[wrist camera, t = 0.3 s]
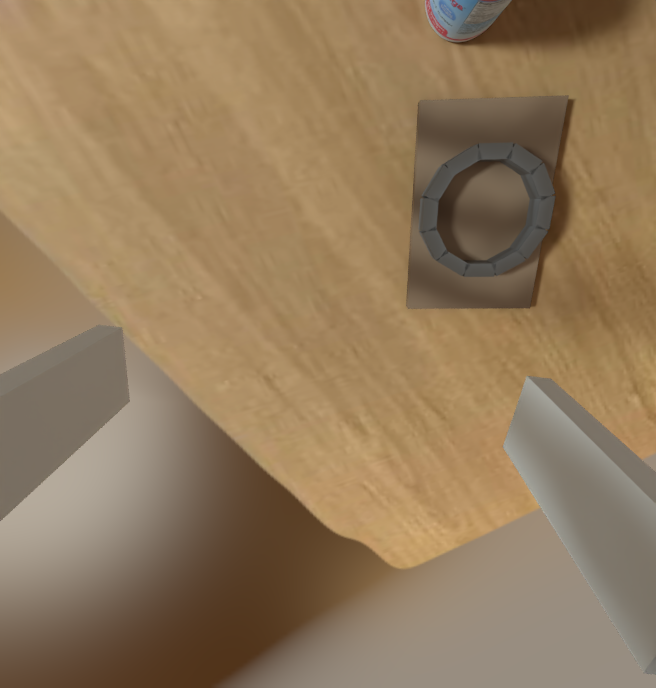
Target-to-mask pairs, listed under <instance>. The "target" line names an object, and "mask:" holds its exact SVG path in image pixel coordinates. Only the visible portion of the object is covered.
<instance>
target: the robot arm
mask: <svg viewBox="0 0 656 688" xmlns="http://www.w3.org/2000/svg"><path fill="white" fill-rule="evenodd" d="M129 401H130V400H129V389H128V379H127V370H126V360H125V350H124V340H123V330H122V327H114V326H105V325H97V326H96V327H93V328H91V329H89V330H87V331H85V332H83V333H82V334H79V335H78V336H76V337H74V338H72V339H70V340H68V341H66V342H64V343H62V344H60V345H58V346H56V347H54V348H52V349H50V350H48V351H46V352H44V353H42V354H40V355H38V356H36V357H34V358H32V359H30V360H28V361H26V362H24V363H22V364H20V365H18V366H16V367H14V368H12V369H10V370H8V371H6V372H4V373H2V374H0V521H1V520H2V519H3V518H4V517H5V516H6V515H7V514H8V513H10V512H11V511H12V510H13V509H14V508H15V507H16V506H17V505H18V504H19V503H20V502H22V501H23V500H24V498H26V497H27V496H28V495H29V494H30V493H31V492H32V491H33V490H34V489H35V488H37V487H38V486H39V485H40V484H41V483H42V482H43V481H44V480H45V479H46V478H48V476H50V475H51V474H52V473H53V472H54V471H55V470H56V469H57V468H58V467H59V466H60V465H62V464H63V463H64V462H65V461H66V460H67V459H68V458H69V457H70V456H71V455H72V454H73V453H74V452H75V451H77V450H78V449H79V448H80V447H81V446H82V445H83V444H84V443H85V442H86V441H88V439H90V438H91V437H92V436H93V435H94V434H95V433H96V432H97V431H98V430H99V429H100V428H102V427H103V426H104V425H105V423H107V422H108V421H109V420H110V419H111V418H112V417H113V416H114V415H116V414H117V413H118V412H119V411H120V410H121V409H122V408H123V407H124V406H125V405H126V404H127V403H128V402H129ZM503 448H504V449H505V451H506V453H507V454H508V456H509V457H510V459H511V461H512V462H513V464H514V465H515V467H516V469H517V470H518V472H519V473H520V475H521V477H522V478H523V480H524V481H525V483H526V485H527V486H528V488H529V490H530V491H531V493H532V494H533V496H534V498H535V499H536V501H537V502H538V504H539V506H540V507H541V509H542V510H543V512H544V514H545V515H546V517H547V518H548V520H549V522H550V523H551V525H552V526H553V528H554V530H555V531H556V533H557V535H558V536H559V538H560V539H561V541H562V543H563V544H564V546H565V547H566V549H567V551H568V552H569V554H570V556H571V557H572V559H573V560H574V562H575V564H576V565H577V567H578V568H579V570H580V572H581V573H582V575H583V576H584V578H585V580H586V581H587V583H588V584H589V586H590V588H591V589H592V591H593V592H594V594H595V596H596V597H597V599H598V601H599V602H600V604H601V605H602V607H603V609H604V610H605V612H606V613H607V615H608V617H609V618H610V620H611V622H612V623H613V625H614V626H615V628H616V630H617V631H618V633H619V634H620V636H621V638H622V639H623V641H624V642H625V644H626V646H627V647H628V649H629V650H630V652H631V654H632V655H633V657H634V659H635V660H636V662H637V663H638V665H639V667H640V668H641V670H642V671H643V673H647V674H655V675H656V472H655V471H654V470H653V469H651V468H650V467H649V466H648V465H647V464H646V463H645V462H644V461H642V460H641V459H640V458H639V457H638V456H637V455H636V454H635V453H634V452H632V451H631V450H630V449H629V448H628V447H627V446H626V445H625V444H623V443H622V442H621V441H620V440H619V439H618V438H617V437H616V436H614V435H613V434H612V433H611V432H610V431H609V430H608V429H607V428H605V427H604V426H603V425H602V424H601V423H600V422H599V421H598V420H596V419H595V418H594V417H593V416H592V415H591V414H590V413H589V412H588V411H586V410H585V409H584V408H583V407H582V406H581V405H580V404H579V403H577V402H576V401H575V400H574V399H573V398H572V397H571V396H570V395H568V394H567V393H566V392H565V391H564V390H563V389H562V388H561V387H559V386H558V385H557V384H556V383H555V382H554V381H553V380H552V379H548V378H540V377H532V376H527V377H526V380H525V383H524V386H523V389H522V392H521V395H520V398H519V401H518V404H517V407H516V410H515V413H514V416H513V419H512V422H511V424H510V427H509V430H508V433H507V436H506V439H505V442H504V445H503Z"/></svg>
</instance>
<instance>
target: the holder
mask: <svg viewBox="0 0 656 688" xmlns="http://www.w3.org/2000/svg"><path fill="white" fill-rule="evenodd" d="M568 96H569V95H568ZM568 96H539V97H509V98H479V99H449V100H420V102H419V103H418V117H417V133H416V150H415V167H414V184H413V201H412V218H411V235H410V252H409V269H408V285H407V302H406V306H407V308H408V309H431V308H530V305H531V299H532V294H533V288H534V283H535V277H536V272H537V266H538V261H539V255H540V250H541V244H542V239H543V238H544V237H545V235H546V234H547V233H548V231H546V230H545V229H549V228H550V223H551V218H552V212H553V207H554V201H555V196H551V195H553V194H555V191H554V188H553V186H552V184H553V179H554V173H555V168H556V162H557V157H558V151H559V146H560V140H561V135H562V129H563V124H564V118H565V113H566V107H567V102H568Z"/></svg>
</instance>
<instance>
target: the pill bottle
mask: <svg viewBox="0 0 656 688" xmlns="http://www.w3.org/2000/svg"><path fill="white" fill-rule="evenodd" d="M511 1H512V0H425V8H426V14H427V17H428V20H429V23H430V25H431V26H432V28H433V30H434V31H435V32H436V33H437V34H438V35H439V36H440V37H442V38H443V39H445V40H447V41H450V42H464V41H468V40H471V39H473V38H475V37H477V36H479V35H480V34H482V33H483V32H484V31H486V30H487V29H488V28H489V27H490V26H491V25H492V23H493V22H494V21H495V20H496V19H497V17H498V16H499V15H500V14H501V13H502V11H503V10H504V9H505V8H506V7H507V5H508V4H509V3H510V2H511Z"/></svg>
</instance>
